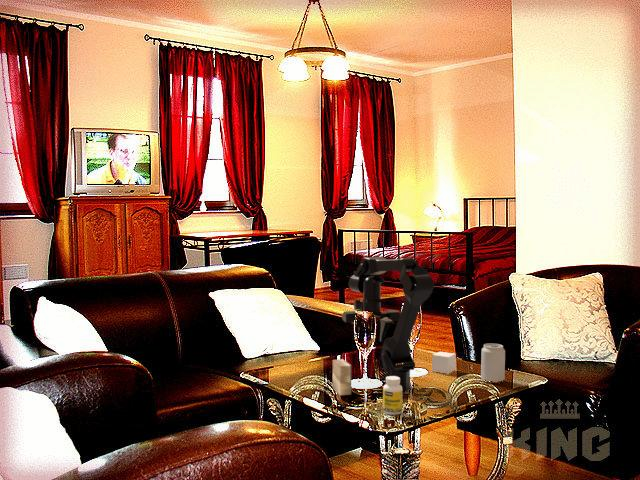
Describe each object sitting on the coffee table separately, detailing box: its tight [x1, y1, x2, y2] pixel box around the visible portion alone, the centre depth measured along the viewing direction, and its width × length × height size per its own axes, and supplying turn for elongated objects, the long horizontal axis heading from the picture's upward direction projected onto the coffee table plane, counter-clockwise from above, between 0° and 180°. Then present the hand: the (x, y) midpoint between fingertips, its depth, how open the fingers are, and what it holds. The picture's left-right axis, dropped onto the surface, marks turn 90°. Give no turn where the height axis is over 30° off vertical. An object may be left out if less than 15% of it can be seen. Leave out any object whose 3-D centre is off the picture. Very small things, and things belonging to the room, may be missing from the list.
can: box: [480, 343, 506, 382], centre depth 224 cm, size 8×8×12 cm
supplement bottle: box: [382, 376, 403, 416], centre depth 193 cm, size 5×5×10 cm
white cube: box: [431, 351, 457, 375], centre depth 237 cm, size 6×6×6 cm
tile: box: [332, 358, 352, 396], centre depth 212 cm, size 4×8×9 cm, turn 16°
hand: (371, 342), depth 227 cm, fingers open, 6 cm apart
